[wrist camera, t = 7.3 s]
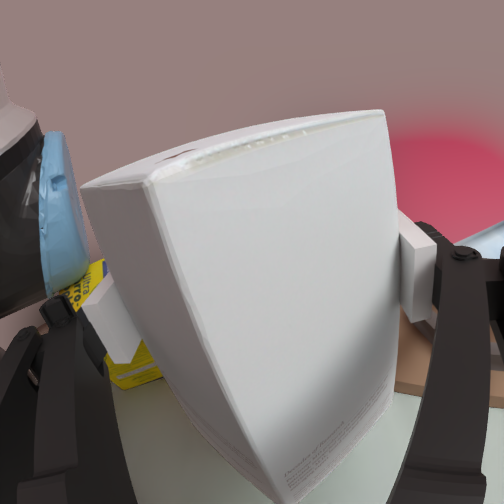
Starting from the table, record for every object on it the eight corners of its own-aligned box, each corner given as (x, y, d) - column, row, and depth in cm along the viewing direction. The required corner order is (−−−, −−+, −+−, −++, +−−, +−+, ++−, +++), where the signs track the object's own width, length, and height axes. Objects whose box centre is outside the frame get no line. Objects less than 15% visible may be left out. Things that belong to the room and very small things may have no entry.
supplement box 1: (116, 345, 29) (57, 277, 22) (166, 325, 30) (119, 249, 23) (126, 395, 25) (55, 335, 18) (182, 374, 26) (128, 305, 19)
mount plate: (360, 383, 20) (360, 358, 19) (412, 264, 32) (412, 242, 31) (576, 411, 9) (593, 386, 8) (552, 276, 21) (556, 254, 20)
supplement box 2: (396, 401, 12) (395, 105, 7) (285, 516, 9) (127, 173, 4) (290, 348, 18) (238, 126, 13) (189, 422, 14) (72, 183, 9)
